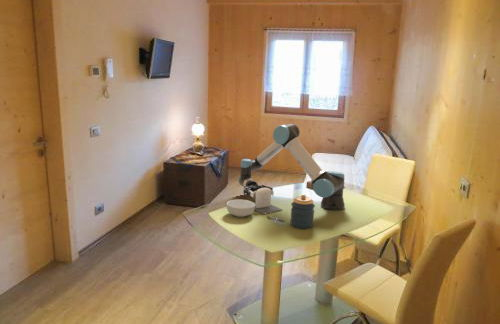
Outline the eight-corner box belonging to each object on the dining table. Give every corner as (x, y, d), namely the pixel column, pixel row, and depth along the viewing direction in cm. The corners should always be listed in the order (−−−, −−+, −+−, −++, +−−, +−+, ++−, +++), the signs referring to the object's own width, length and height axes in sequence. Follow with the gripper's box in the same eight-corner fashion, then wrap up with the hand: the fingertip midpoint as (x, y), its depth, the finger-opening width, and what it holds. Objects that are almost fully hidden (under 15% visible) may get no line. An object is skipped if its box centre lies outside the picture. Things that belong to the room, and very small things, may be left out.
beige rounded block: (267, 204, 247) (268, 186, 245) (271, 206, 244) (272, 187, 241) (254, 207, 242) (254, 188, 239) (258, 209, 238) (258, 189, 236)
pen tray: (343, 186, 299) (344, 181, 299) (320, 191, 284) (320, 186, 283) (330, 182, 311) (330, 177, 310) (306, 186, 295) (306, 181, 294)
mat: (282, 210, 239) (282, 209, 239) (263, 214, 231) (263, 213, 231) (262, 201, 255) (262, 200, 255) (244, 205, 246) (244, 204, 246)
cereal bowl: (235, 221, 218) (235, 209, 216) (221, 212, 232) (221, 201, 230) (260, 217, 227) (260, 205, 225) (245, 208, 240) (245, 197, 239)
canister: (290, 219, 224) (291, 190, 220) (312, 221, 223) (314, 192, 219) (290, 228, 211) (291, 197, 207) (313, 230, 210) (316, 198, 206)
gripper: (267, 189, 266) (280, 198, 246) (233, 191, 256) (244, 201, 237) (267, 178, 264) (281, 187, 245) (233, 181, 255) (244, 189, 236)
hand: (263, 194), depth 241 cm, fingers open, 13 cm apart
